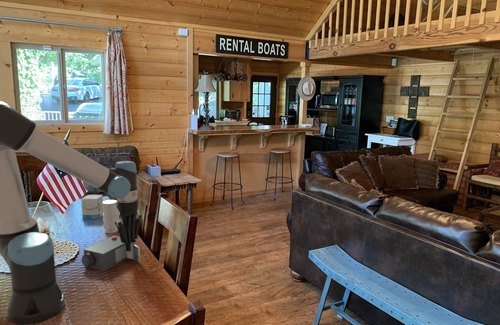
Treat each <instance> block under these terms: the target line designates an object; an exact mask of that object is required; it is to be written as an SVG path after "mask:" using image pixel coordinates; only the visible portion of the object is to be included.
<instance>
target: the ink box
mask: <svg viewBox="0 0 500 325" xmlns="http://www.w3.org/2000/svg"><path fill="white" fill-rule="evenodd" d="M80 200H81V213H82V215H81V216H82V220H99V219H100V218H103V204H102V202H103V201H104V196H103V194H87V195H85V196H84V197H82V198H81V199H80Z"/></svg>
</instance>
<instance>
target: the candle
mask: <svg viewBox="0 0 500 325" xmlns="http://www.w3.org/2000/svg"><path fill="white" fill-rule="evenodd" d="M102 204H103V216H102V219H103V220H102V221H103V229H104V230H105V231H104V232H105V233H106V234H113V233H118V229H117V226H116V225H115V221H118V220H119V211H118V200H115V199H106V200H103V202H102Z"/></svg>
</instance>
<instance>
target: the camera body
mask: <svg viewBox="0 0 500 325" xmlns="http://www.w3.org/2000/svg"><path fill="white" fill-rule="evenodd" d="M127 259H128V258H127V251H126V243H122V242H121V239H120V236H118V235H113V236H109V237H108V238H105V239H103V240H101V241H99V242H97V243H95V244H92V245H90V246H88V247H86V248H84V249H83V255H82V256H81V263H82V264H83V266H84V268H89V269H90V268H92V269H95V270H99V271H102V272H105V271H107V270H109V269H110V268H112V267H114V266H115V265H118V264H120V263H121V262H123V261H125V260H127Z"/></svg>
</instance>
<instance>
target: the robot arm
mask: <svg viewBox="0 0 500 325" xmlns="http://www.w3.org/2000/svg"><path fill="white" fill-rule="evenodd" d="M19 151H23V152H25V153H27V154H29V155H30V156H33V157H35V158H37V159H39V160H41V161H43V162H45V163H47V164H48V165H50V166H53V167H54V168H56V169H57V170H60V171H62V172H64V173H66V174H68V175H70V176H71V177H74V178H75V179H77V180H79V181H82V184H83V187H84V189H85V191H87V192H92V191H93V192H95V191H100V192H102V193H104V194H106V195H108V196H110V197H111V198H113V199H115V198H116V199H117V200H116V201H117V211H118V213H119V214H118V221H115V225H116V226H117V230H118V231H117V233H118V235H119V237H120V239H121V242H122V243H126V251H127V259H131V260H134V252H133V249H134V244H135V243H137V240H138V237H139V232H140V223H141V221H142V216H143V215H142V214H139V213H138V209H139V201H138V182H137V180H138V178H137V177H138V176H137V174H138V172H137V165H136V162H134V161H131V160H123V161H117V162H115V167H112V168H109V167H106V166H104V165H103V164H100V163H99V162H97V161H95V160H94V159H91V157H89V156H86V155H85V154H83V153H81V152H80V151H78V150H76V149H75V148H73V147H71V146H69V145H67V144H65V143H64V142H62V140H61V141H60V140H59V139H58V138H56V137H53V136H52V135H51V134H49V133H47V132H45V131H43V130H42V129H40V128H39V127H38V124H37V123H36V122H34V121H33V120H31V119H29V118H28V117H26V116H25V115H23V114H22V113H20V112H19V111H18V110H17V109H16V108H14V107H13V106H12V105H10V104H8V103H6V102H5V101H1V100H0V255H1V257H2V258H3V260H4V261H5V263H6V264H7V266H8V268H9V271H10V278H11V279H10V280H11V286H12V287H11V288H12V289H11V290H12V293H11V297H10V301H9V306H8V308H7V315H8V321H10V322H11V323H13V324H18V325H28V324H35V323H39V322H42V321H45V320H48V319H50V318H52V317H53V316H55V315H57V314H59V312H61V311H62V309H63V308H64V307H65V297H64V293H63V292H62V290H61V288H60V286H59V284H58V283H57V275H56V264H55V250H54V249H55V247H54V246H55V245H54V243H53V239H52V237H51V236H50V235H49V234H46V233H43V232H41V233H40V229H39V225H38V220H37V219H36V218H34V217H32V216H31V213H30V209H29V205H28V201H27V200H28V199H27V197H26V196H27V195H26V192H25V188H24V183H23V180H22V176H21V172H20V167H19V163H18V159H17V154H16V152H19Z"/></svg>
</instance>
